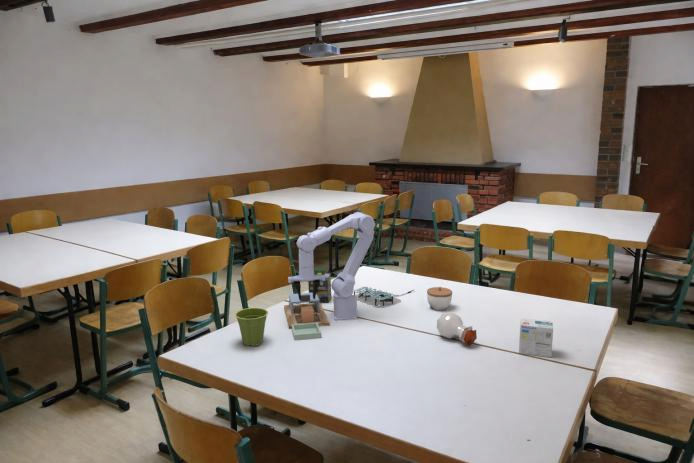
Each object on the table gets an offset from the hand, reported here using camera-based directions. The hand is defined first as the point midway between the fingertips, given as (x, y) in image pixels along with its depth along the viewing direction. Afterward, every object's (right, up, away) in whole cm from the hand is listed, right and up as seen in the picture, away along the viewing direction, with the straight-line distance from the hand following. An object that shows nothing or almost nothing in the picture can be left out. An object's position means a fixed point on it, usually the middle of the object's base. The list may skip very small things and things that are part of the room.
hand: (307, 298), depth 199 cm
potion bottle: (+56, -13, -15) cm, 60 cm away
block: (0, -10, +2) cm, 10 cm away
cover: (-2, -6, +12) cm, 14 cm away
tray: (0, -12, -10) cm, 16 cm away
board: (-1, -9, +7) cm, 11 cm away
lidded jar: (+56, -7, +17) cm, 59 cm away
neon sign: (+34, -4, +33) cm, 48 cm away
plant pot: (-18, -14, -17) cm, 28 cm away
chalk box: (+4, -5, +28) cm, 28 cm away
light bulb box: (+81, -15, -25) cm, 87 cm away
